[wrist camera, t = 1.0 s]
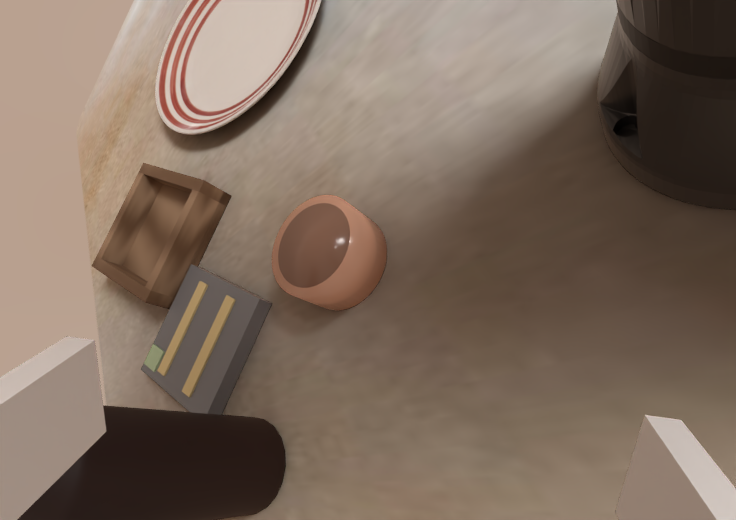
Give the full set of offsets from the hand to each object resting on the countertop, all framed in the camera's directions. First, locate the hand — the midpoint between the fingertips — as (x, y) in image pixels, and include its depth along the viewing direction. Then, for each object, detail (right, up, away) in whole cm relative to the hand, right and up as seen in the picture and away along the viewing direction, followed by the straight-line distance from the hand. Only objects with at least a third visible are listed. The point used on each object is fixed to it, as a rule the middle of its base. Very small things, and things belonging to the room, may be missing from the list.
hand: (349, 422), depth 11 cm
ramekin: (-2, +4, +26) cm, 27 cm away
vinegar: (-8, -12, +25) cm, 29 cm away
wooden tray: (-21, +6, +41) cm, 46 cm away
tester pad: (-14, -3, +32) cm, 35 cm away
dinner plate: (-14, +30, +46) cm, 57 cm away
